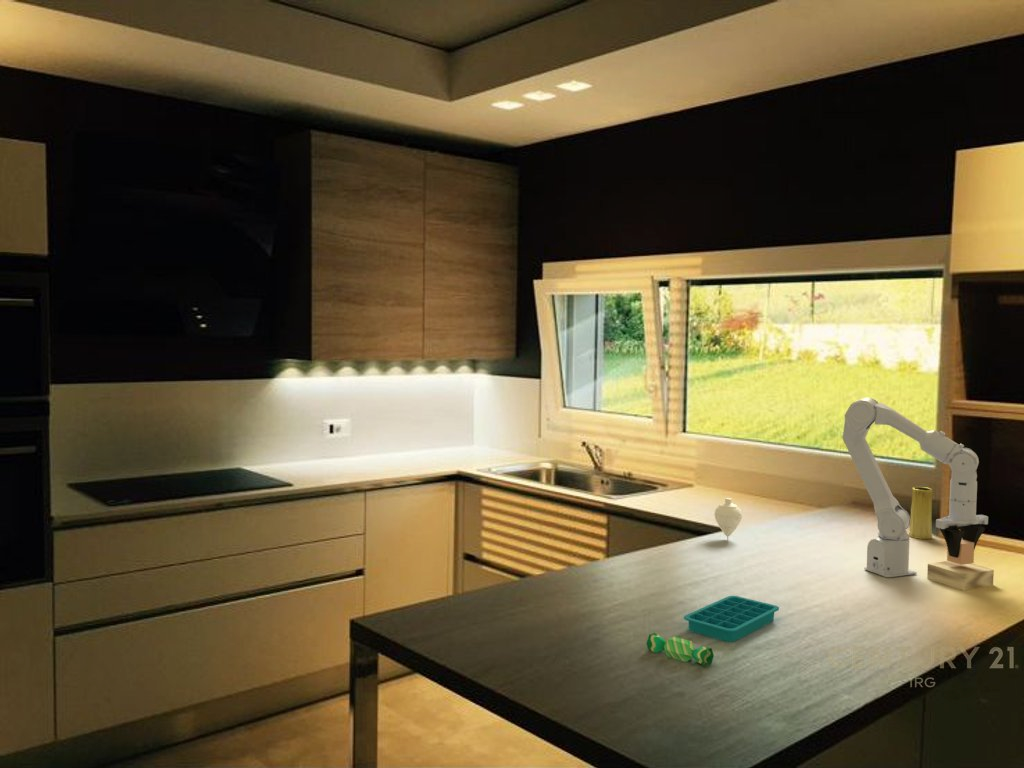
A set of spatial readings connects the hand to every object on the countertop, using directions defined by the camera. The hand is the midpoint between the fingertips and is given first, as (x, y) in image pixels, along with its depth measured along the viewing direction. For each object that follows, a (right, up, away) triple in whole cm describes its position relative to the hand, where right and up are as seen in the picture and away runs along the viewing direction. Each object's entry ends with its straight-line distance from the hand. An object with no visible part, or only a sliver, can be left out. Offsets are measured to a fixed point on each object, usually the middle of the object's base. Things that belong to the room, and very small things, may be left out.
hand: (960, 555), depth 206 cm
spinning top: (-46, -4, +40) cm, 61 cm away
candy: (-77, -10, -47) cm, 90 cm away
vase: (+11, -4, +44) cm, 46 cm away
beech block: (0, -7, 0) cm, 7 cm away
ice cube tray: (-63, -9, -29) cm, 70 cm away
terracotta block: (0, -2, 0) cm, 2 cm away
